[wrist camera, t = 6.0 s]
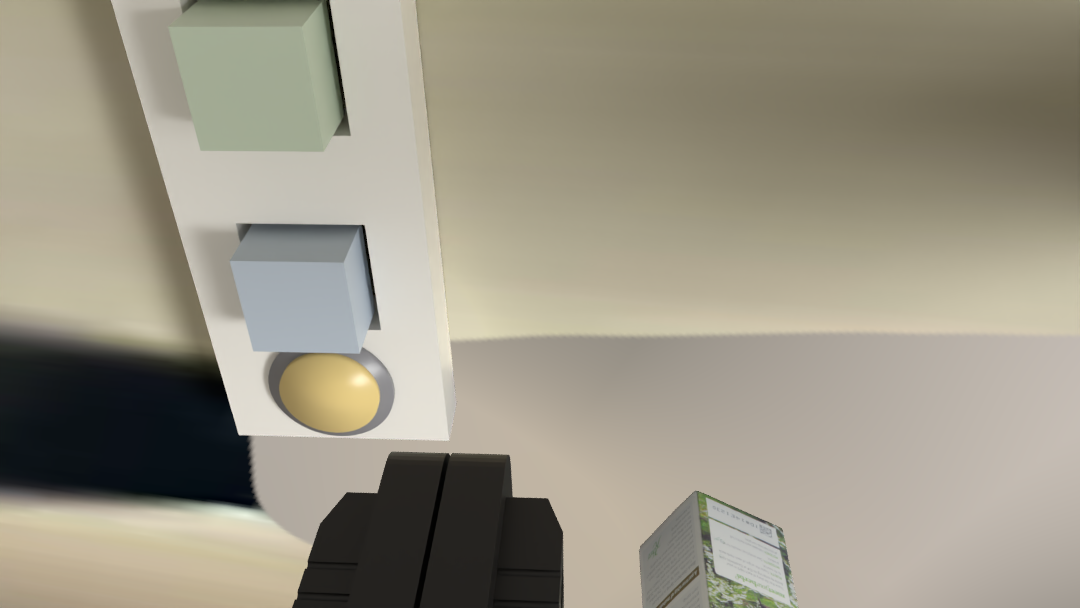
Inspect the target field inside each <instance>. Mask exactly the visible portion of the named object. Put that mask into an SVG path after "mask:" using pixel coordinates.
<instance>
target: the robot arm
mask: <svg viewBox="0 0 1080 608" xmlns="http://www.w3.org/2000/svg"><path fill="white" fill-rule="evenodd" d="M563 589H564V584H563V531H562V529H561V527H560V525H559V522H558V521H557V518H556V516H555V513H554V511H553V509H552V507H551V505H550V502H549V500H548V499H546V498H544V499H543V498H515V497H513V496H512V480H511V463H510V456H509V455H497V454H462V453H461V454H460V453H452V454H451V456H450V455H449V453H417V452H391V453H390V454H389V456H388V458H387V461H386V465H385V468H384V472H383V475H382V479H381V483H380V486H379V490H378V493H350V492H347V493H346V494H345V495H344V497H343V498H342V499H341V500H340V501H339V502H338V504H337V505H336V506H335V507H334V508H333V509H332V511H331V512H330V513H329V514H328V515H327V517H326V518H325V519H324V520H323V521H322V522H321V524H320V526H319V529H318V532H317V535H316V538H315V541H314V544H313V547H312V550H311V553H310V556H309V559H308V567H307V569H305V571H304V574H303V577H302V580H301V583H300V586H299V589H298V597H297V600H295V601H294V604H293V607H292V608H564V592H563V591H564V590H563Z"/></svg>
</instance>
